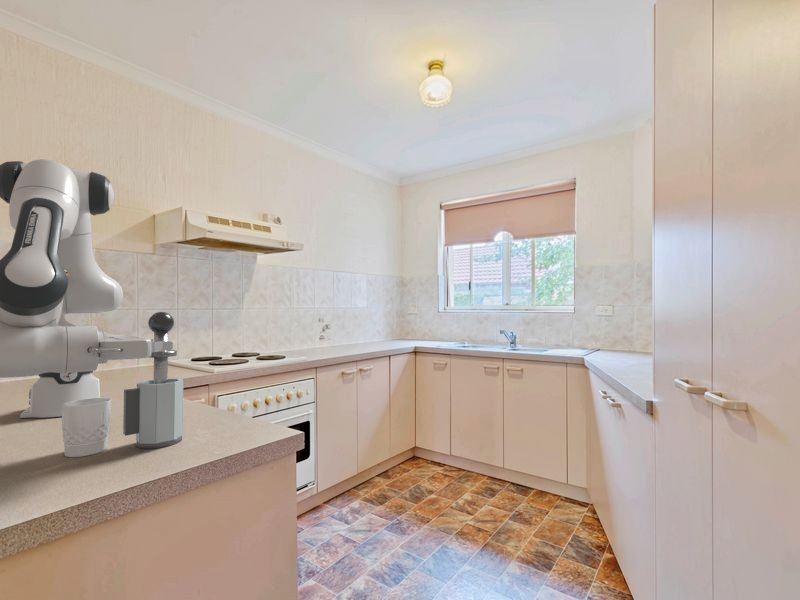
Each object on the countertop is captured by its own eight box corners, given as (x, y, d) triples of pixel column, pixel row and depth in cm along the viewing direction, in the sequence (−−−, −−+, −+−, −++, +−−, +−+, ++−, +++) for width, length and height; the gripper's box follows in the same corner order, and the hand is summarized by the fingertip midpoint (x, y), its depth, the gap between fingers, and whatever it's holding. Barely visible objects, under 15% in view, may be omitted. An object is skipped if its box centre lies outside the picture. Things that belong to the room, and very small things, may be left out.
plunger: (140, 431, 84) (142, 312, 85) (171, 425, 89) (173, 311, 90) (147, 437, 80) (148, 311, 81) (179, 431, 84) (180, 311, 85)
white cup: (119, 444, 83) (120, 397, 83) (91, 458, 75) (92, 406, 75) (81, 445, 83) (82, 397, 83) (49, 459, 75) (50, 406, 75)
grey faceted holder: (120, 444, 83) (121, 383, 83) (175, 433, 90) (176, 377, 91) (128, 454, 77) (129, 388, 77) (187, 442, 84) (187, 381, 85)
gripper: (92, 334, 69) (180, 331, 78) (79, 330, 83) (154, 328, 93) (92, 370, 68) (179, 362, 78) (78, 360, 83) (154, 355, 93)
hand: (165, 344), depth 86 cm, fingers open, 8 cm apart
